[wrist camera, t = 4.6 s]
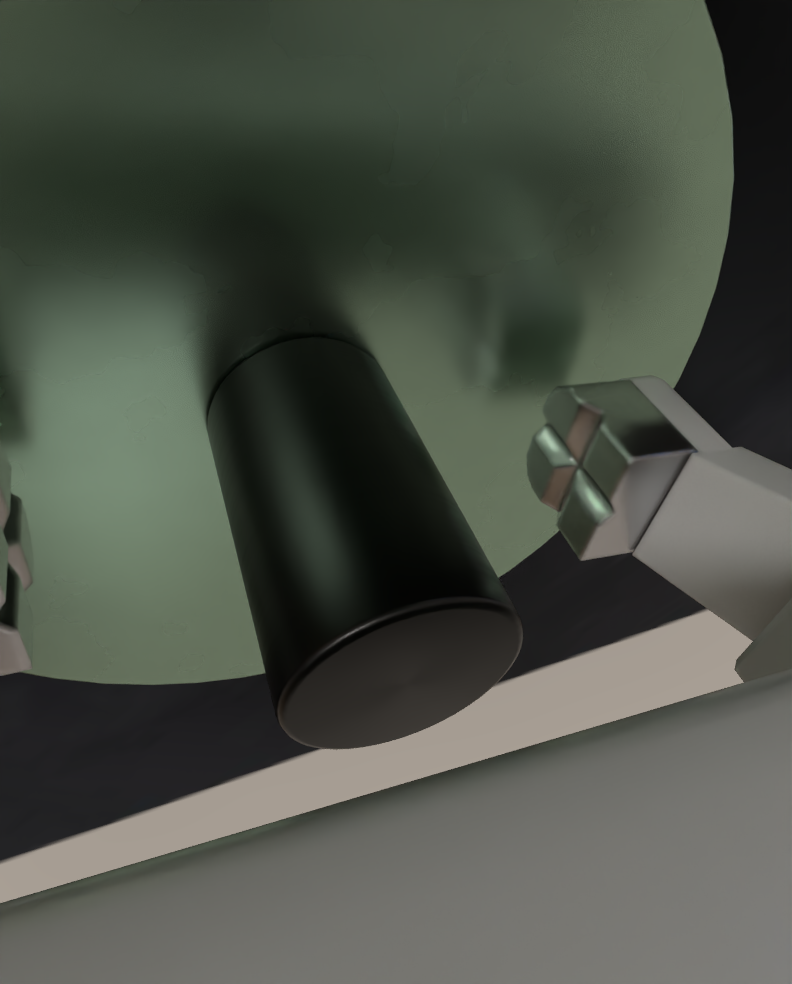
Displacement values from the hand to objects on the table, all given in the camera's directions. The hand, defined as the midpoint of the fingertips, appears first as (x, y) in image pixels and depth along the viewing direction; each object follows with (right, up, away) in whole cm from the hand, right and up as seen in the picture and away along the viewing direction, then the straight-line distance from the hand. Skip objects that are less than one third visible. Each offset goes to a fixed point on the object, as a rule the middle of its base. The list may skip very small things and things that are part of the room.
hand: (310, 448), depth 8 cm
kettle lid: (0, +1, +1) cm, 1 cm away
